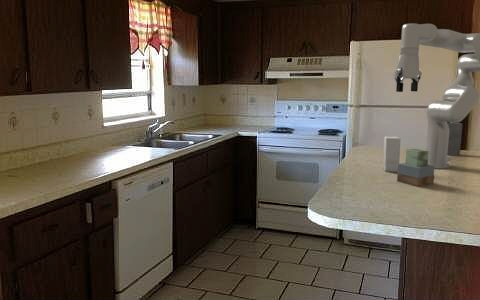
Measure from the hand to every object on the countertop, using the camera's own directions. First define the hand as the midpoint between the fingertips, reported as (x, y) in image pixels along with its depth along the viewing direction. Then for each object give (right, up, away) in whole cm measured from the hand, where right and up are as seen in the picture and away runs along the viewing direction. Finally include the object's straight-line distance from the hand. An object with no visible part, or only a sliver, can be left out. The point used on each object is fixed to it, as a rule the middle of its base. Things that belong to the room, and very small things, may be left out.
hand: (406, 91), depth 202 cm
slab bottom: (-2, -40, -16) cm, 43 cm away
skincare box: (-5, -36, +7) cm, 37 cm away
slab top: (-3, -36, -17) cm, 40 cm away
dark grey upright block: (+39, -29, +48) cm, 68 cm away
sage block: (-2, -32, -17) cm, 37 cm away
